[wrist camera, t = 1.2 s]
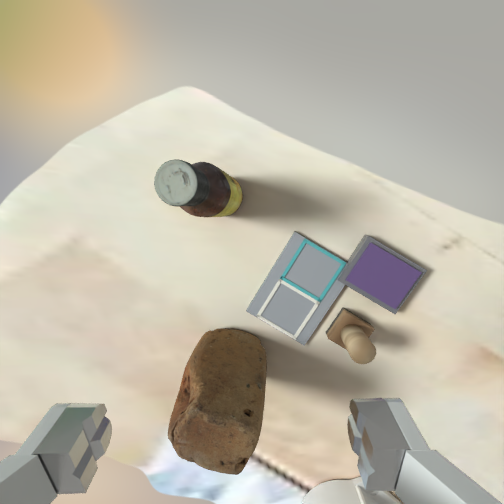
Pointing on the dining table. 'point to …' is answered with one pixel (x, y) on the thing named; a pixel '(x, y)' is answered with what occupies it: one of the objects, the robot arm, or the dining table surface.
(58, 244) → the dining table surface
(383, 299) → the ink pad
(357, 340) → the stamp
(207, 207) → the sauce bottle
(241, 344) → the block
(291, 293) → the board
